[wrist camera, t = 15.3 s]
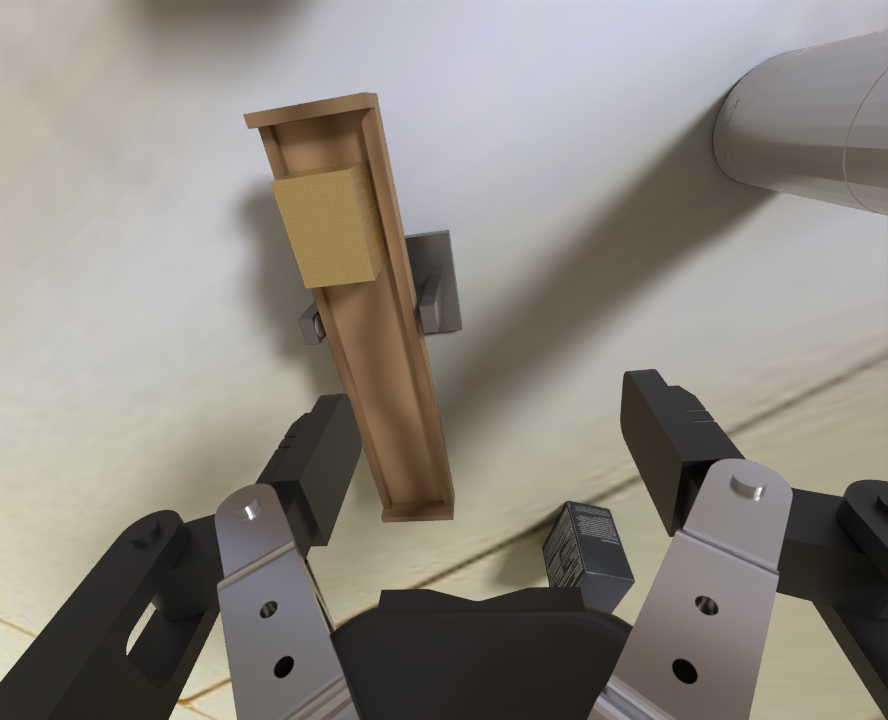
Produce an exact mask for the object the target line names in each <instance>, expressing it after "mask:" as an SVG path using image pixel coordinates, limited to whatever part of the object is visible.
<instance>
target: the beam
mask: <svg viewBox="0 0 888 720" xmlns="http://www.w3.org/2000/svg"><path fill="white" fill-rule="evenodd" d="M243 115H244V118H245V121H246V124H247V127H248V129H251V128H258V129H259V132H260V135H261V138H262V141H263V144H264V148H265V151H266V154H267V157H268V160H269V163H270V166H271V169H272V172H273V175H274V178H275V180H276V179H279V178H281V177H284V176H286V175H289V174H292V173H294V172H297V171H300V170H306V169H313V168H319V167H325V166H331V165H338V164H344V163H350V162H356V161H363V160H367V164H368V168H369V173H370V177H371V182H372V186H373V191H374V195H375V200H376V205H377V209H378V214H379V218H380V223H381V227H382V232H383V236H384V241H385V245H386V250H387V254H388V258H387V260H386V262H385V264H384V265H383V267H382V269H381V271H380V272H379V274H378V276H377V278H376V279H375V280H374V281H366V282H357V283H349V284H341V285H332V286H324V287H315V288H311V289H312V292H313V295H314V298H315V301H316V304H317V307H318V310H319V313H320V316H321V319H322V322H323V325H324V329H325V332H326V335H327V338H328V341H329V344H330V347H331V350H332V353H333V356H334V359H335V362H336V365H337V368H338V371H339V374H340V377H341V380H342V383H343V386H344V389H345V392H346V394H347V395H348V397H349V399H350V401H351V405H352V408H353V411H354V414H355V418H356V421H357V424H358V427H359V431H360V434H361V440H362V443H363V446H364V449H365V452H366V455H367V458H368V461H369V464H370V467H371V470H372V473H373V476H374V479H375V482H376V485H377V488H378V491H379V494H380V497H381V500H382V503H383V507H384V509H383V513H382V517H381V518H382V521H383V522H409V521H435V520H453V515H454V498H455V493H454V488H453V483H452V478H451V473H450V468H449V463H448V457H447V452H446V447H445V442H444V437H443V432H442V427H441V422H440V416H439V411H438V406H437V401H436V396H435V391H434V386H433V380H432V375H431V370H430V365H429V360H428V355H427V350H426V344H425V339H424V334H423V329H422V324H421V319H420V314H419V309H418V303H417V298H416V293H415V288H414V283H413V278H412V273H411V267H410V262H409V257H408V252H407V247H406V242H405V237H404V232H403V226H402V221H401V216H400V211H399V206H398V201H397V196H396V190H395V185H394V180H393V175H392V170H391V165H390V160H389V154H388V149H387V144H386V139H385V134H384V129H383V124H382V119H381V113H380V108H379V103H378V98H377V94H376V93H366V92H364V93H359V94H353V95H348V96H342V97H337V98H331V99H326V100H320V101H315V102H309V103H304V104H298V105H293V106H287V107H282V108H276V109H271V110H265V111H260V112H254V113H249V114H243Z"/></svg>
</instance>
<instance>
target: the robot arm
mask: <svg viewBox="0 0 888 720" xmlns="http://www.w3.org/2000/svg"><path fill="white" fill-rule="evenodd" d="M713 148H714V154H715V158H716V160H717V162H718V164H719V167H720V168H721V169H722V170H723V171H724V173H725V174H726V175H728V176H729V177H731V178H732V179H734V180H735V181H738V182H741V183H745V184H749V185H753V186H758V187H762V188H767V189H770V190H774V191H779V192H783V193H788V194H792V195H797V196H801V197H806V198H810V199H815V200H819V201H824V202H828V203H833V204H837V205H842V206H846V207H851V208H855V209H860V210H864V211H869V212H873V213H878V214H883V215H888V30H883V31H879V32H875V33H870V34H866V35H862V36H857V37H853V38H849V39H844V40H840V41H836V42H831V43H826V44H821V45H817V46H813V47H808V48H804V49H800V50H795V51H791V52H787V53H783V54H780V55H778V56H775V57H773V58H770V59H768V60H766V61H765V62H763V63H761V64H760V65H758V66H756V67H755V68H754V69H753V70H751V71H750V72H749V73H748V74H747V75H745V76H744V77H743V78H742V79H741V80H740V81H739V83H738V84H737V85H736V86H735V87H734V88H733V89H732V91H731V92H730V94H729V95H728V97H727V99H726V100H725V102H724V103H723V105H722V108H721V110H720V112H719V114H718V117H717V120H716V124H715V128H714V133H713ZM620 423H621V430H622V434H623V437H624V440H625V442H626V444H627V446H628V448H629V451H630V453H631V455H632V457H633V459H634V461H635V464H636V466H637V468H638V470H639V472H640V474H641V477H642V479H643V481H644V483H645V485H646V487H647V490H648V492H649V494H650V496H651V498H652V500H653V503H654V505H655V507H656V509H657V511H658V513H659V516H660V518H661V520H662V522H663V524H664V526H665V529H666V531H667V533H668V535H669V537H673V540H672V542H671V544H670V546H669V549H668V551H667V553H666V555H665V557H664V560H663V562H662V564H661V566H660V569H659V571H658V573H657V575H656V577H655V580H654V582H653V584H652V586H651V589H650V591H649V593H648V595H647V597H646V600H645V602H644V604H643V606H642V609H641V611H640V613H639V615H638V617H637V620H636V622H635V624H634V626H632V625H630V624H629V623H627V622H625V621H624V620H622V619H621V618H619V617H617V616H615V615H613V614H611V613H609V612H607V611H605V610H602V609H599V608H596V607H594V606H590V605H586V604H584V601H583V597H582V592H581V587H536V588H526V589H522V590H519V591H515V592H512V593H508V594H504V595H501V596H497V597H494V598H490V599H487V600H483V601H472V600H468V599H464V598H461V597H457V596H453V595H449V594H445V593H441V592H437V591H433V590H429V589H406V590H382V591H381V595H380V600H379V605H378V607H375V608H372V609H370V610H367V611H365V612H363V613H361V614H359V615H357V616H355V617H353V618H352V619H350V620H348V621H347V622H346V623H344V624H343V625H341V626H340V627H339V628H338V629H336V627H335V625H334V622H333V620H332V618H331V615H330V613H329V610H328V608H327V605H326V603H325V601H324V598H323V596H322V593H321V591H320V588H319V586H318V583H317V581H316V578H315V576H314V573H313V571H312V568H311V566H310V563H309V561H308V559H307V555H308V552H309V550H310V547H311V546H327V545H328V542H329V539H330V537H331V534H332V531H333V528H334V525H335V523H336V520H337V517H338V514H339V512H340V509H341V506H342V503H343V500H344V498H345V495H346V492H347V489H348V487H349V484H350V481H351V478H352V475H353V473H354V470H355V467H356V464H357V461H358V459H359V456H360V453H361V434H360V431H359V427H358V424H357V421H356V418H355V414H354V411H353V408H352V405H351V401H350V399H349V397H348V395H347V394H335V395H322V396H320V397H319V399H318V401H317V402H316V404H315V406H314V407H313V409H312V411H311V413H305V414H304V415H302V416H301V417H300V418H299V419H298V420H297V421H295V422H294V423H293V424H292V425H291V427H290V428H289V430H288V432H287V433H286V435H285V436H284V437H285V439H283V440H282V441H281V443H280V445H279V446H278V449H276V451H275V453H274V454H273V456H272V457H271V459H270V461H269V462H268V464H267V465H266V467H265V469H264V470H263V472H262V473H261V475H260V477H259V478H258V480H257V481H256V483H255V484H253V485H249V486H246V487H244V488H241V489H240V490H238V491H236V492H234V493H233V494H231V495H230V496H229V497H228V498H226V499H225V500H224V501H223V502H222V504H221V505H220V506H219V508H218V509H217V511H216V514H213V515H210V516H206V517H203V518H200V519H196V520H193V521H190V522H187V523H184V522H183V520H182V519H181V517H180V516H179V514H178V513H177V512H175V511H173V510H162V511H158V512H154V513H152V514H149V515H147V516H145V517H143V518H141V519H139V520H138V521H136V522H135V523H133V524H132V525H130V526H129V527H128V528H127V529H126V530H125V531H124V532H122V534H121V535H120V536H119V537H118V538H117V539H116V541H115V542H114V543H113V544H112V545H111V547H110V548H109V549H108V550H107V552H106V553H105V554H104V555H103V557H102V558H101V559H100V560H99V561H98V563H97V564H96V565H95V566H94V568H93V569H92V570H91V571H90V573H89V574H88V575H87V576H86V577H85V579H84V580H83V581H82V582H81V584H80V585H79V586H78V587H77V589H76V590H75V591H74V592H73V593H72V595H71V596H70V597H69V598H68V600H67V601H66V602H65V603H64V605H63V606H62V607H61V608H60V609H59V611H58V612H57V613H56V614H55V616H54V617H53V618H52V619H51V621H50V622H49V623H48V624H47V625H46V627H45V628H44V629H43V630H42V632H41V633H40V634H39V635H38V637H37V638H36V639H35V640H34V641H33V643H32V644H31V645H30V646H29V648H28V649H27V650H26V651H25V653H24V654H23V655H22V656H21V657H20V659H19V660H18V661H17V662H16V664H15V665H14V666H13V667H12V669H11V670H10V671H9V672H8V673H7V675H6V676H5V677H4V678H3V680H2V681H1V682H0V720H169V717H170V715H171V713H172V711H173V709H174V707H175V705H176V703H177V701H178V699H179V696H180V694H181V692H182V690H183V688H184V686H185V684H186V682H187V680H188V678H189V675H190V673H191V671H192V669H193V667H194V665H195V663H196V661H197V659H198V657H199V655H200V652H201V650H202V648H203V646H204V644H205V642H206V640H207V638H208V636H209V634H210V631H211V629H212V627H213V625H214V623H215V621H216V619H217V617H218V615H219V613H220V611H221V617H222V624H223V630H224V637H225V643H226V650H227V656H228V663H229V669H230V676H231V682H232V689H233V695H234V702H235V708H236V715H237V720H749V716H750V711H751V706H752V702H753V697H754V692H755V688H756V683H757V678H758V674H759V669H760V664H761V659H762V655H763V650H764V645H765V641H766V636H767V631H768V627H769V622H770V617H771V613H772V608H773V603H774V598H775V594H776V592H778V593H782V594H785V595H789V596H793V597H797V598H801V599H805V600H809V601H812V602H813V604H814V606H815V607H816V609H817V610H818V612H819V613H820V615H821V617H822V618H823V620H824V621H825V623H826V625H827V626H828V628H829V629H830V631H831V633H832V634H833V636H834V637H835V639H836V640H837V642H838V644H839V645H840V647H841V648H842V650H843V652H844V653H845V655H846V656H847V658H848V660H849V661H850V663H851V664H852V666H853V667H854V669H855V671H856V672H857V674H858V675H859V677H860V679H861V680H862V682H863V683H864V685H865V687H866V688H867V690H868V691H869V693H870V694H871V696H872V698H873V699H874V701H875V702H876V704H877V706H878V707H879V709H880V710H881V712H882V714H883V715H884V717H885V718H886V720H888V482H886V481H880V480H861V481H856V482H854V483H852V484H850V485H849V486H848V487H847V489H846V491H845V493H844V496H843V497H840V496H834V495H828V494H822V493H817V492H811V491H805V490H800V489H795V488H792V487H790V485H789V484H788V482H787V481H786V480H785V479H784V478H783V477H782V476H781V475H779V474H778V473H777V472H775V471H774V470H772V469H770V468H768V467H766V466H764V465H762V464H759V463H756V462H753V461H749V460H746V459H745V458H744V456H743V455H742V454H741V453H740V451H739V450H738V449H737V448H736V446H735V445H734V444H733V443H732V441H731V440H730V439H729V438H728V436H727V435H726V434H725V433H724V431H723V430H722V429H721V428H720V426H719V425H718V424H717V423H716V422H714V419H713V418H712V416H711V415H710V414H709V413H708V411H706V410H705V407H704V406H703V405H702V404H701V402H700V401H699V400H698V399H697V397H696V396H695V395H693V394H691V393H690V392H688V391H686V390H685V389H683V388H682V387H680V386H668V385H667V384H666V382H665V381H664V380H663V378H662V377H661V376H660V374H659V373H658V371H657V370H655V369H649V370H637V371H626V372H625V373H624V377H623V387H622V401H621V414H620ZM150 602H151V603H152V604H153V605H154V606H155V607H156V610H155V611H154V613H153V615H152V616H151V618H150V620H149V621H148V623H147V624H146V626H145V628H144V629H143V631H142V633H141V634H140V636H139V637H138V639H137V641H136V642H135V644H134V646H133V647H132V649H131V651H130V652H129V654H128V655H127V654H126V647H127V641H128V638H129V636H130V634H131V632H132V630H133V629H134V627H135V625H136V624H137V622H138V621H139V619H140V617H141V616H142V614H143V613H144V611H145V610H146V608H147V606H148V605H149V603H150Z"/></svg>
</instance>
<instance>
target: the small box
mask: <svg viewBox="0 0 888 720" xmlns="http://www.w3.org/2000/svg"><path fill="white" fill-rule="evenodd" d="M542 549H543V554H544V559H545V564H546V570H547V575H548V581H549V587H581V592H582V597H583V601H584V604H586V605H590V606H594V607H596V608H599V609H602V610H605V611H607V612H609V613H612V612H613V611H614V609H615V608H616V607H617V605H618V604H619V603H620V601H621V600H622V598H623V597H624V596H625V594H626V593H627V592H628V591H629V589H630V588H631V587H632V585H633V584H634V583H635V580H634V577H633V574H632V572H631V569H630V566H629V563H628V560H627V558H626V555H625V552H624V549H623V546H622V544H621V541H620V538H619V535H618V532H617V529H616V526H615V524H614V521H613V518H612V515H611V512H610V510H609V509H605V508H601V507H596V506H591V505H586V504H581V503H577V502H572V501H567V502H566V504H565V506H564V508H563V510H562V512H561V514H560V515H559V517H558V519H557V521H556V523H555V525H554V527H553V529H552V531H551V532H550V534H549V536H548V538H547V540H546V542H545V544H544V546H543V548H542Z"/></svg>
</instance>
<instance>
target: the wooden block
mask: <svg viewBox="0 0 888 720" xmlns="http://www.w3.org/2000/svg"><path fill="white" fill-rule="evenodd" d="M270 184H271V187H272V190H273V193H274V196H275V199H276V202H277V205H278V208H279V211H280V214H281V217H282V220H283V223H284V225H285V228H286V231H287V234H288V237H289V240H290V243H291V246H292V249H293V252H294V255H295V258H296V261H297V264H298V267H299V270H300V273H301V276H302V279H303V282H304V285H305V287H306V289H307V288H315V287H324V286H332V285H341V284H349V283H357V282H366V281H374V280H375V279H376V278H377V276H378V274H379V272H380V271H381V269H382V267H383V265H384V264H385V262H386V260H387V258H388V254H387V250H386V245H385V241H384V236H383V232H382V227H381V223H380V218H379V214H378V209H377V205H376V200H375V195H374V191H373V186H372V182H371V177H370V173H369V168H368V164H367V160H363V161H356V162H350V163H344V164H338V165H331V166H325V167H319V168H313V169H306V170H300V171H297V172H294V173H292V174H289V175H286V176H284V177H281V178H279V179H276V180H273V181H271V182H270Z"/></svg>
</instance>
